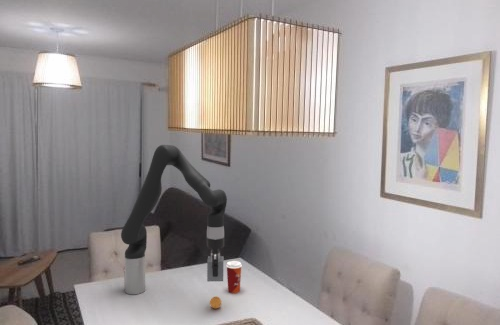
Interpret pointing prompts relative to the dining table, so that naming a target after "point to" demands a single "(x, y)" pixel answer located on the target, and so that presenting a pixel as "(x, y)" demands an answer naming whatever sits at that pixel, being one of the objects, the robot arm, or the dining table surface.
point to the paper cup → (234, 276)
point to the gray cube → (210, 270)
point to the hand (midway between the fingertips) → (215, 273)
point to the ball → (215, 302)
